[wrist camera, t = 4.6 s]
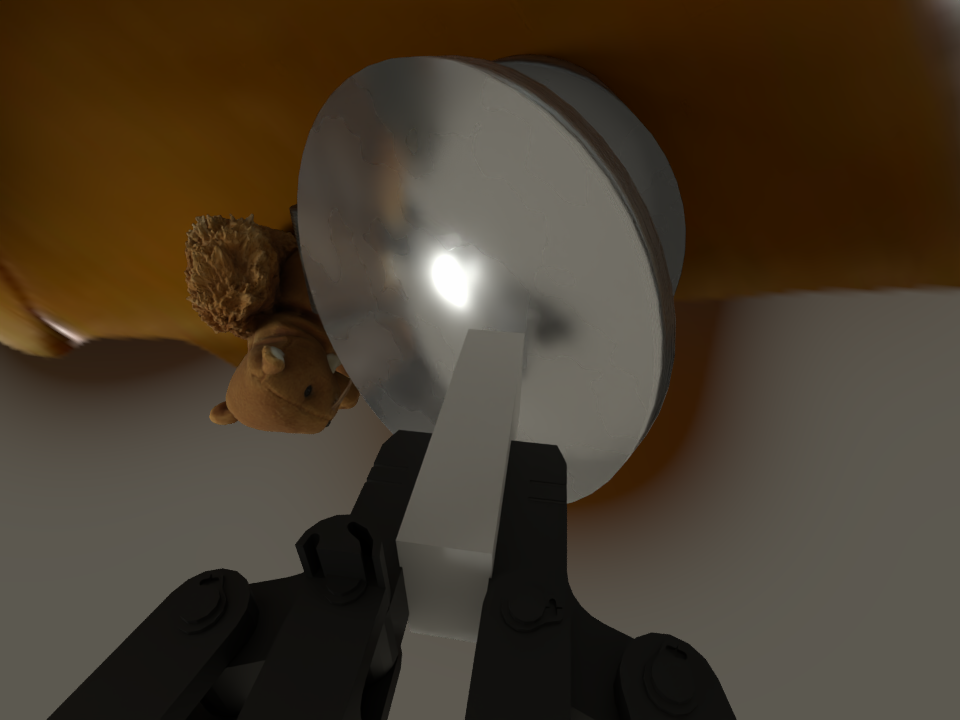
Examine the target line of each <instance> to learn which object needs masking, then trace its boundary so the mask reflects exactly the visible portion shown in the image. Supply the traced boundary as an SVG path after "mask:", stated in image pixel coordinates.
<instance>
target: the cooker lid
mask: <svg viewBox="0 0 960 720" xmlns="http://www.w3.org/2000/svg"><path fill="white" fill-rule="evenodd" d="M289 210H290V214H291V219H292V223H293V228H294V232H295V237H296V242H297V246H298V251H299V255H300V260H301V264H302V269H303V273H304V278H305V282H306V287H307V291H308V296H309V301H310V305H311V310H312V312H313V313H315V314H319V316H320V319H321V321H322V324H323V326H324V329H325V331H326V333H327V335H328V337H329V340H330V342H331V344H332V346H333V348H334V350H335V352H336V354H337V356H338V358H339V359H340V361H341V363H342V365H343V367H344V369H345V370H346V372H347V373H348V375H349V377H350V378H351V380H352V382H353V383H354V385H355V386H356V388H357V389H358V391H359V392H360V393H361V395H362V396H363V398H364V399H365V401H366V402H367V403H368V405H369V406H370V407H371V409H372V410H373V411H374V412H375V414H376V415H377V416H378V417H379V418H380V420H381V421H382V422H383V423H384V424H385V426H386V427H387V428H388V429H389V430H390V431H391V432H392V433H393V434H395V433H396V432H397V431H398V430H407V431H416V432H425V433H433V431H434V428H435V425H436V422H437V419H438V416H439V413H440V410H441V407H442V405H443V402H444V399H445V396H446V393H447V390H448V387H449V384H450V381H451V378H452V376H453V373H454V370H455V367H456V364H457V361H458V358H459V355H460V352H461V349H462V346H463V344H464V341H465V338H466V335H467V332H468V329H476V330H488V331H501V332H514V333H525V336H524V351H523V367H522V383H521V399H520V414H519V422H518V429H517V437H516V441H523V442H532V443H541V444H551V445H557V446H558V448H559V450H560V452H561V453H562V455H563V457H564V459H565V461H566V463H567V503H571V502H574V501H577V500H579V499H581V498H583V497H585V496H587V495H589V494H592V493H593V492H594V491H596V490H597V489H598V488H600V487H601V486H602V485H604V484H605V483H606V482H608V481H609V480H610V479H611V478H612V477H613V476H614V474H615V473H616V472H617V471H618V470H619V469H620V468H621V466H622V465H623V464H624V463H625V462H626V461H627V459H628V458H629V457H630V455H631V454H632V453H633V451H634V450H635V449H636V448H637V446H638V445H639V444H640V442H641V441H642V440H643V439H644V437H645V436H646V434H647V433H648V431H649V429H650V428H651V426H652V424H653V422H654V421H655V419H656V417H657V416H658V414H659V412H660V409H661V406H662V404H663V401H664V398H665V395H666V392H667V390H668V387H669V383H670V377H671V372H672V367H673V361H674V356H675V328H676V319H675V310H674V300H673V291H672V283H671V279H670V275H669V271H668V267H667V263H666V259H665V255H664V251H663V247H662V244H661V241H660V239H659V236H658V234H657V231H656V229H655V226H654V223H653V221H652V218H651V216H650V213H649V211H648V208H647V206H646V204H645V202H644V201H643V199H642V197H641V195H640V193H639V191H638V190H637V188H636V186H635V184H634V182H633V181H632V179H631V177H630V175H629V173H628V171H627V170H626V168H625V167H624V166H623V164H622V163H621V162H620V160H619V159H618V158H617V156H616V155H615V153H614V152H613V151H612V149H611V148H610V147H609V145H608V144H607V143H606V141H605V140H604V139H603V137H602V136H601V135H600V134H599V133H598V132H597V131H596V130H595V129H594V128H593V127H592V126H591V125H590V124H589V123H588V122H587V121H586V120H585V119H584V118H583V116H582V115H581V114H580V113H579V112H578V111H577V110H576V109H575V108H574V107H572V106H571V105H570V104H568V103H567V102H566V101H564V100H563V99H562V98H560V97H559V96H558V95H557V94H555V93H554V92H553V91H551V90H550V89H549V88H547V87H546V86H545V85H543V84H541V83H539V82H537V81H536V80H534V79H532V78H530V77H528V76H526V75H525V74H523V73H521V72H519V71H517V70H515V69H513V68H510V67H507V66H504V65H501V64H498V63H495V62H492V61H489V60H486V59H480V58H472V57H465V56H457V55H452V56H418V57H406V58H394V59H388V60H385V61H382V62H379V63H376V64H373V65H370V66H367V67H366V68H364V69H362V70H361V71H359V72H358V73H356V74H354V75H353V76H351V77H349V78H348V79H347V80H346V81H345V82H344V83H343V84H342V85H341V86H340V87H338V88H337V89H336V90H335V91H334V92H333V93H332V94H331V96H330V97H329V99H328V100H327V102H326V103H325V104H324V106H323V107H322V109H321V110H320V111H319V113H318V115H317V118H316V120H315V122H314V124H313V126H312V128H311V130H310V132H309V136H308V139H307V142H306V145H305V148H304V152H303V156H302V162H301V167H300V172H299V182H298V195H297V204H296V205H293V206H291V207H290V208H289Z"/></svg>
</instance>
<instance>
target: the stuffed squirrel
mask: <svg viewBox="0 0 960 720" xmlns="http://www.w3.org/2000/svg"><path fill="white" fill-rule="evenodd" d="M230 216H231V220H230V219H225V218H223V217H222V216H221V215H218V216H213V217H211V216H209V215H208V214H207V219H205V217H204V216H201V217H196V220H197V221H198V223H197V224H196V225H195V224H194V223H193V224H192V226H193V228H194V229H193V230H189V232H187V233H186V234H187V235H188V241H186V243H185V245H186V246H187V248H186V249H185V254H186V257H187V261H188V262H187V263H188V267H187V268H186V269H187V270H186V271H184V272H185V275H186V276H187V277H186V282H187V284H188V292H189V293H190V295H191V296H192V297H191V296H189V297H188V298H186V299H187V300H189V301H191V302H192V305H193V307H192V308H193V309H195V311H196V312H199V316H200V317H201V320H202V321H204V322H205V323H207V324H208V326H210V327H212V328H213V331H215V333H216V334H217V333H219V332H223V333H224V332H225V333H226V332H227V331H230V332H232V333H233V334H234V335H235V337H236V336H237V337H240V338H242V339H245V340H248V354H246V355H245V357H244V359H243V361H242V362H241V363H240V365H239V366H238V368H237V369H236V371H235V373H234V375H233V376H232V378H231V381H230V383H229V387H228V389H227V394H226V401H225V402H222V403H220V404H218V405H217V406H215V407H214V408H213V409H212V410H211V412H210V416H209V417H210V419H211V421H212V422H214V423H216V424H219V425H227V424H232V423H235V422H236V421H238V420H239V421H240V422H241V423H242V424H244V425H246V426H248V427H251V428H255V429H258V430H264V431H272V432H273V431H276V432H286V433H302V434H315V433H319V432H321V431H322V430H323V429H324V428H325V427H327V426H329V424H330V422H331V420H332V419H333V417H334V416H335V415H336V413H337V411H338V409H350V408H352V407H354V406H355V405H356V403H357V402H358V398H359V395H360V393H359V391H358V389H357V388H356V386H355V385H354V383H353V382H352V380H351V378H348V377H349V375H348V373H347V372H346V370H345V369H344V367H343V365H342V363H341V361H340V359H339V358H338V356H337V354H336V352H335V350H334V348H333V346H332V344H331V342H330V340H329V337H328V335H327V333H326V331H325V329H324V326H323V324H322V321H321V319H320V316H319V314H315V313H313V312H312V310H311V305H310V301H309V296H308V291H307V287H306V282H305V278H304V273H303V269H302V264H301V260H300V255H299V251H298V246H297V242H296V238H295V237H294V235H292V234H291V232H288V233H284V231H283V230H282V231H279V230H275V229H271V228H269V227H265V226H262V225H261V226H259V225H258V224H256V223H254V221H253V217H254V215H253V214H251V215H250V216H249V217H248V218H246V219H245V220H244V219H243V218H240V220H239V219H238V220H235V218H234V217H233V216H232V215H231V214H230Z"/></svg>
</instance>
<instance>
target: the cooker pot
mask: <svg viewBox="0 0 960 720" xmlns="http://www.w3.org/2000/svg"><path fill="white" fill-rule="evenodd" d="M492 62H495V63H498V64H501V65H504V66H507V67H510V68H513V69H515V70H517V71H519V72H521V73H523V74H525V75H526V76H528V77H530V78H532V79H534V80H536V81H537V82H539V83H541V84H543V85H545V86H546V87H547V88H549V89H550V90H551V91H553V92H554V93H555V94H557V95H558V96H559V97H560V98H562V99H563V100H564V101H566V102H567V103H568V104H570V105H571V106H572V107H574V108H575V109H576V110H577V111H578V112H579V113H580V114H581V115H582V116H583V118H584V119H585V120H586V121H587V122H588V123H589V124H590V125H591V126H592V127H593V128H594V129H595V130H596V131H597V132H598V133H599V134H600V135H601V136H602V137H603V139H604V140H605V141H606V143H607V144H608V145H609V147H610V148H611V149H612V151H613V152H614V153H615V155H616V156H617V158H618V159H619V160H620V162H621V163H622V164H623V166H624V167H625V168H626V170H627V171H628V173H629V175H630V177H631V179H632V181H633V182H634V184H635V186H636V188H637V190H638V191H639V193H640V195H641V197H642V199H643V201H644V202H645V204H646V206H647V208H648V211H649V213H650V216H651V218H652V221H653V223H654V226H655V229H656V231H657V234H658V236H659V239H660V241H661V244H662V247H663V251H664V255H665V259H666V263H667V267H668V271H669V275H670V279H671V283H672V291H673V297H674V294H675V291H676V288H677V285H678V282H679V279H680V276H681V271H682V266H683V260H684V254H685V234H686V227H685V218H684V210H683V203H682V199H681V196H680V192H679V188H678V184H677V181H676V178H675V176H674V174H673V172H672V169H671V167H670V165H669V162H668V160H667V158H666V156H665V155H664V153H663V151H662V150H661V148H660V147H659V145H658V143H657V142H656V140H655V139H654V137H653V136H652V134H651V133H650V132H649V131H648V130H647V129H646V127H645V126H644V125H643V124H642V123H641V122H640V121H639V119H638V118H637V117H636V116H635V115H634V114H633V113H632V112H631V111H630V110H629V109H628V107H627V106H626V105H625V104H624V103H623V102H622V101H621V100H620V99H619V98H618V97H617V96H616V95H615V94H614V93H613V92H612V91H611V90H610V88H609V87H608V86H606V85H605V84H604V83H603V82H602V81H601V80H599V79H598V78H597V77H596V76H595V75H593V74H591V73H590V72H588V71H586V70H585V69H583V68H582V67H580V66H577V65H575V64H573V63H570V62H568V61H565V60H562V59H558V58H554V57H550V56H542V55H516V56H510V57H505V58H501V59H497V60H493V61H492Z"/></svg>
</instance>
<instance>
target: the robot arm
mask: <svg viewBox="0 0 960 720" xmlns="http://www.w3.org/2000/svg"><path fill="white" fill-rule="evenodd" d="M524 336H525V333H514V332H501V331H488V330H476V329H468V332H467V335H466V338H465V341H464V344H463V346H462V349H461V352H460V355H459V358H458V361H457V364H456V367H455V370H454V373H453V376H452V378H451V381H450V384H449V387H448V390H447V393H446V396H445V399H444V402H443V405H442V407H441V410H440V413H439V416H438V419H437V422H436V425H435V428H434V431H433V433H425V432H416V431H407V430H398V431H397V432H396V433H395V434H393V435H392V436H391V437H390V438H389V439H388V440H387V441H386V442H385V443H384V444H383V445H382V447H381V449H380V451H379V453H378V455H377V458H376V460H375V462H374V467H372V468H371V471H370V473H369V475H368V477H367V482H366V483H365V484H364V486H363V488H362V490H361V493H360V495H359V497H358V499H357V501H356V504H355V506H354V508H353V510H352V512H351V514H350V515H336V516H333V517H330V518H327V519H324V520H321V521H319V522H318V523H317V524H315V525H314V526H312V527H311V528H310V529H308V530H307V531H305V533H304V534H303V535H302V537H301V538H300V539H299V540H298V542H297V543H296V544H295V546H296V549H297V552H298V555H299V558H300V561H301V564H302V566H303V569H304V572H303V573H301V574H298V575H294V576H291V577H287V578H281V579H276V580H270V581H264V582H259V583H252V584H248V581H247V580H246V579H245V578H244V577H243V576H242V575H241V574H239V573H238V572H237V571H233V570H228V569H223V568H222V569H216V570H211V571H205V572H203V573H201V574H199V575H197V576H195V577H192V578H191V579H188V580H187V581H186V582H184V583H183V584H182V585H181V586H179V587H178V588H177V589H176V590H174V591H173V592H172V593H171V594H170V595H169V596H168V597H167V598H166V599H165V600H164V601H163V602H162V603H161V604H160V605H159V606H158V607H157V608H156V609H155V610H154V611H153V612H152V613H151V614H150V615H149V616H148V617H147V618H146V619H145V620H144V621H143V622H142V623H141V624H140V625H139V626H138V627H137V628H136V629H135V630H134V631H133V632H132V633H131V634H130V635H129V636H128V638H126V639H125V641H124V642H123V643H122V644H121V645H120V646H119V647H118V648H117V649H116V650H115V651H114V652H113V653H112V654H111V655H110V656H109V657H108V658H107V659H106V660H105V661H104V662H103V663H102V664H101V665H100V666H99V667H98V668H97V669H96V670H95V671H94V672H93V673H92V674H91V675H90V676H89V677H88V678H87V679H86V680H85V681H84V682H83V683H82V684H81V685H80V686H79V687H78V688H77V689H76V690H75V691H74V692H73V693H72V694H71V695H70V696H69V697H68V698H67V699H66V700H65V701H64V702H63V703H62V704H61V705H60V706H59V708H57V709H56V711H55V712H54V713H53V714H52V715H51V716H50V717H49V718H48V719H47V720H387V719H388V715H389V711H390V707H391V703H392V700H393V696H394V692H395V688H396V685H397V681H398V677H399V673H400V669H401V659H402V650H401V642H402V639H403V635H404V631H405V628H406V624H407V621H408V623H409V630H410V632H414V633H420V634H426V635H432V636H438V637H445V638H451V639H457V640H464V641H470V642H476V643H477V644H476V651H475V657H474V663H473V670H472V677H471V683H470V689H469V696H468V702H467V709H466V715H465V720H736V717H735V715H734V713H733V711H732V708H731V706H730V704H729V702H728V700H727V697H726V695H725V693H724V691H723V688H722V686H721V684H720V682H719V680H718V678H717V676H716V675H715V673H714V672H713V670H712V668H711V667H710V665H709V664H708V662H707V661H706V659H705V658H704V657H703V656H702V655H701V654H700V653H698V652H697V651H696V650H695V649H694V648H693V647H692V646H691V645H690V644H688V643H686V642H684V641H682V640H680V639H678V638H676V637H674V636H672V635H668V634H660V633H649V634H646V635H643V636H640V637H636V638H635V639H633V638H631V637H630V636H628V635H625V634H624V633H621V632H619V631H617V630H615V629H613V628H611V627H609V626H607V625H605V624H603V623H602V622H600V621H599V620H597V619H596V618H594V617H592V616H591V615H590V614H589V613H588V612H587V611H586V610H584V608H583V607H581V605H580V604H579V602H578V601H577V599H576V598H575V597H574V595H573V593H572V590H571V588H570V585H569V583H568V576H567V463H566V461H565V459H564V457H563V455H562V453H561V452H560V450H559V448H558V446H557V445H551V444H541V443H532V442H523V441H516V437H517V429H518V422H519V414H520V399H521V383H522V367H523V351H524Z"/></svg>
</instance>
